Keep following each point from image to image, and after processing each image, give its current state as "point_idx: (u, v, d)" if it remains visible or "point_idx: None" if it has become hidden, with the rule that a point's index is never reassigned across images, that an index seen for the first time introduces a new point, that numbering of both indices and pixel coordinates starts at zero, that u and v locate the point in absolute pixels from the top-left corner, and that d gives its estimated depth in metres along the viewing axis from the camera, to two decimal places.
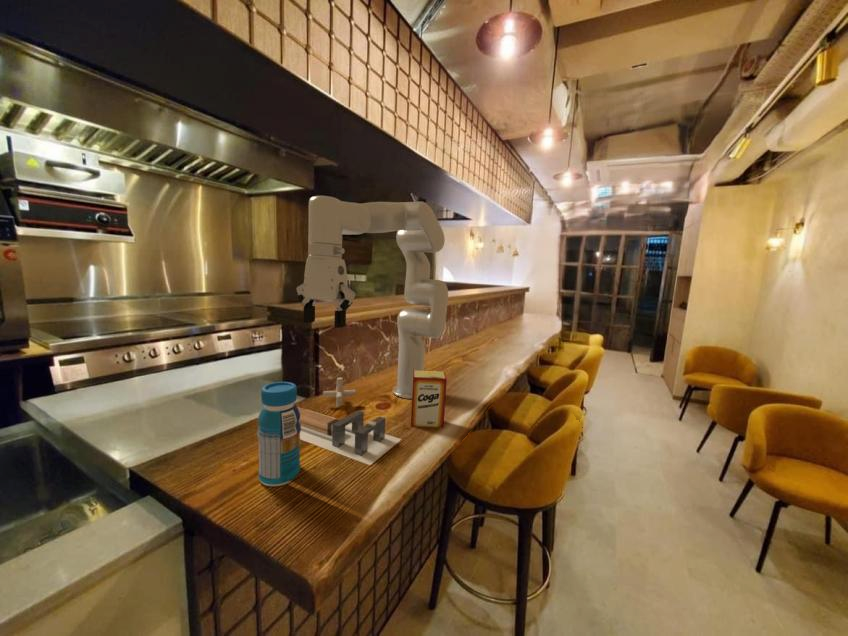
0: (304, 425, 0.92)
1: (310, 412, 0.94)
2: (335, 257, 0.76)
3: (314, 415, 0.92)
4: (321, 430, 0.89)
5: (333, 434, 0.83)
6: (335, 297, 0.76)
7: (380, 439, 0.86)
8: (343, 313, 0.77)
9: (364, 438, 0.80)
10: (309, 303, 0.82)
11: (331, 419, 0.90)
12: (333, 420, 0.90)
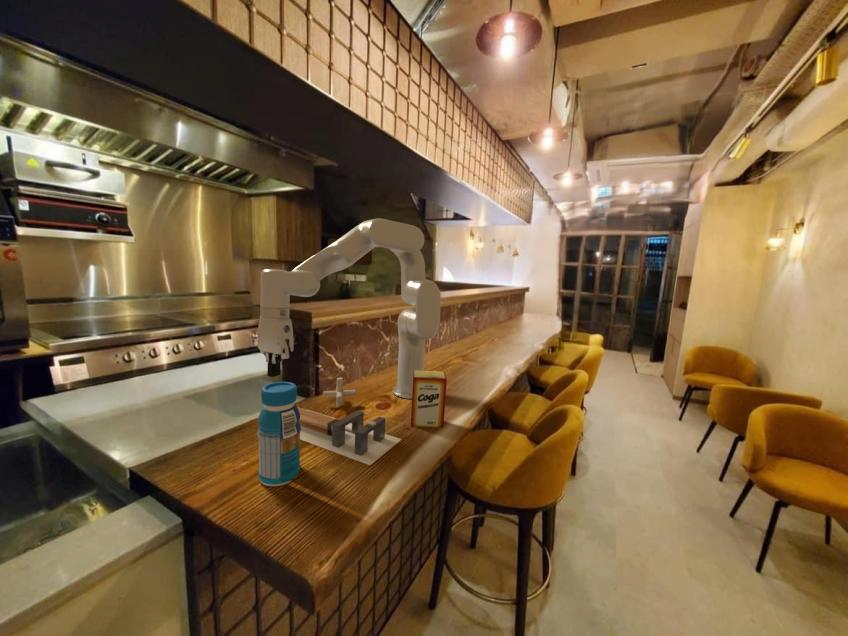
0: (304, 425, 0.92)
1: (310, 412, 0.94)
2: (282, 318, 0.93)
3: (314, 415, 0.92)
4: (321, 430, 0.89)
5: (333, 434, 0.83)
6: (281, 351, 0.93)
7: (380, 439, 0.86)
8: (277, 365, 0.96)
9: (364, 438, 0.80)
10: None
11: (331, 419, 0.90)
12: (333, 420, 0.90)
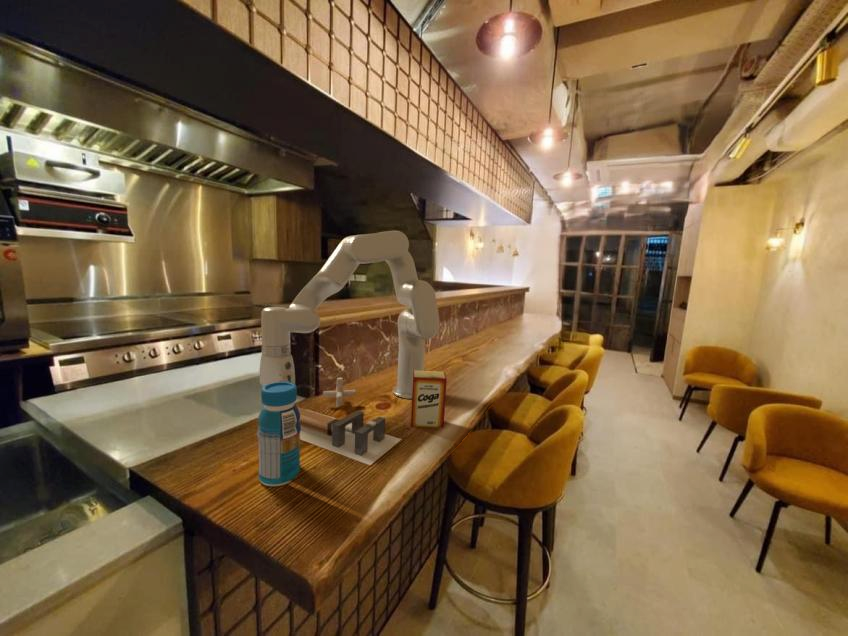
0: (304, 425, 0.92)
1: (310, 412, 0.94)
2: (283, 355, 0.94)
3: (314, 415, 0.92)
4: (321, 430, 0.89)
5: (333, 434, 0.83)
6: None
7: (380, 439, 0.86)
8: None
9: (364, 438, 0.80)
10: None
11: (331, 419, 0.90)
12: (333, 420, 0.90)
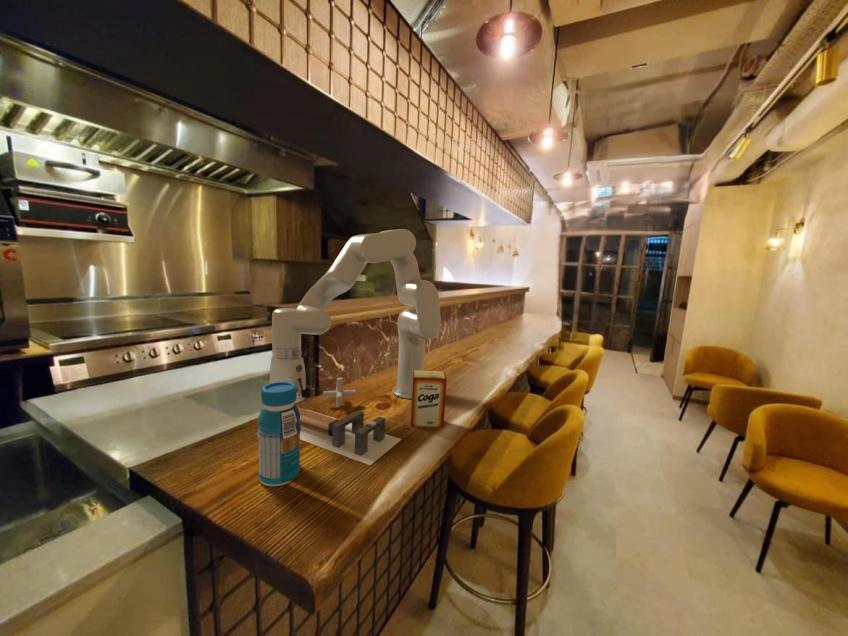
0: (305, 425, 0.92)
1: (311, 412, 0.94)
2: (294, 358, 0.93)
3: (315, 416, 0.92)
4: (322, 430, 0.89)
5: (333, 434, 0.83)
6: None
7: (380, 439, 0.86)
8: None
9: (364, 438, 0.80)
10: None
11: (332, 419, 0.90)
12: (334, 420, 0.90)
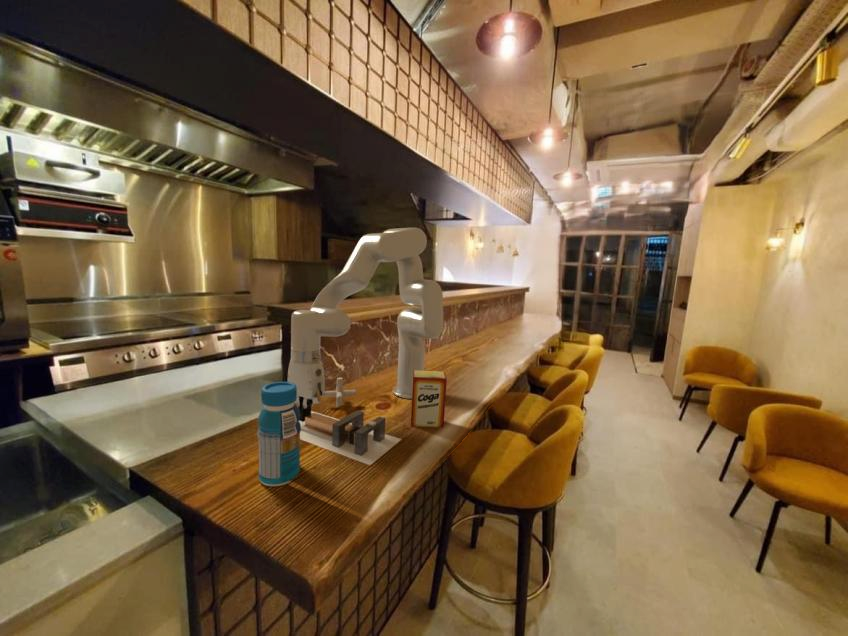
0: (324, 433, 0.88)
1: (330, 419, 0.90)
2: (313, 362, 0.89)
3: None
4: None
5: (333, 434, 0.83)
6: (313, 396, 0.89)
7: (380, 439, 0.86)
8: (308, 409, 0.92)
9: (364, 438, 0.80)
10: None
11: (353, 427, 0.87)
12: (355, 428, 0.86)
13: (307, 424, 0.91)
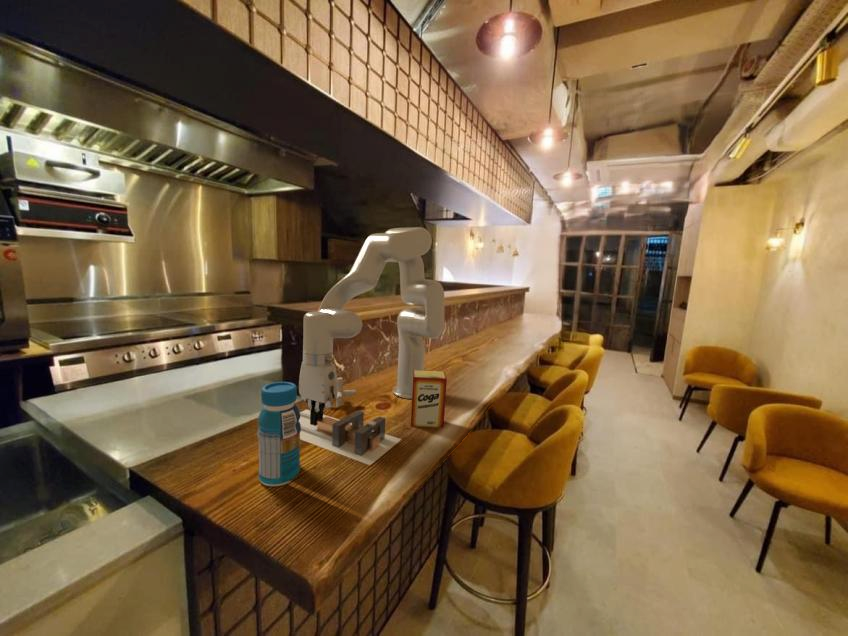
0: None
1: None
2: (326, 364, 0.87)
3: (348, 427, 0.86)
4: None
5: (333, 434, 0.83)
6: (326, 400, 0.87)
7: (380, 439, 0.86)
8: (320, 413, 0.90)
9: (364, 438, 0.80)
10: None
11: None
12: None
13: (319, 428, 0.89)
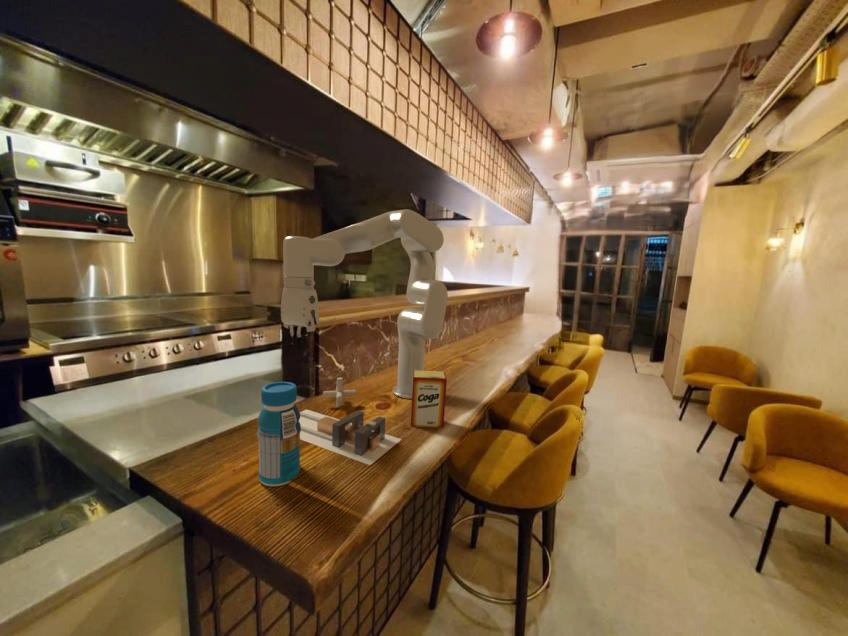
0: None
1: None
2: (307, 288, 0.88)
3: (348, 427, 0.86)
4: None
5: (333, 434, 0.83)
6: (307, 323, 0.88)
7: (380, 439, 0.86)
8: (302, 339, 0.91)
9: (364, 438, 0.80)
10: None
11: None
12: None
13: (319, 428, 0.89)
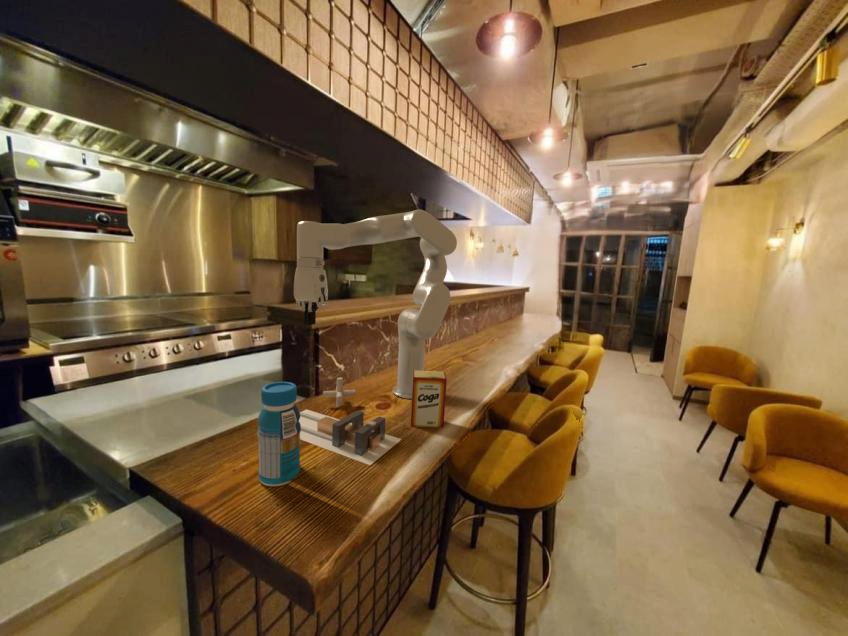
0: None
1: None
2: (317, 268, 0.99)
3: (348, 427, 0.86)
4: None
5: (333, 434, 0.83)
6: (317, 299, 0.98)
7: (380, 439, 0.86)
8: (313, 314, 1.02)
9: (364, 438, 0.80)
10: None
11: None
12: None
13: (319, 428, 0.89)
